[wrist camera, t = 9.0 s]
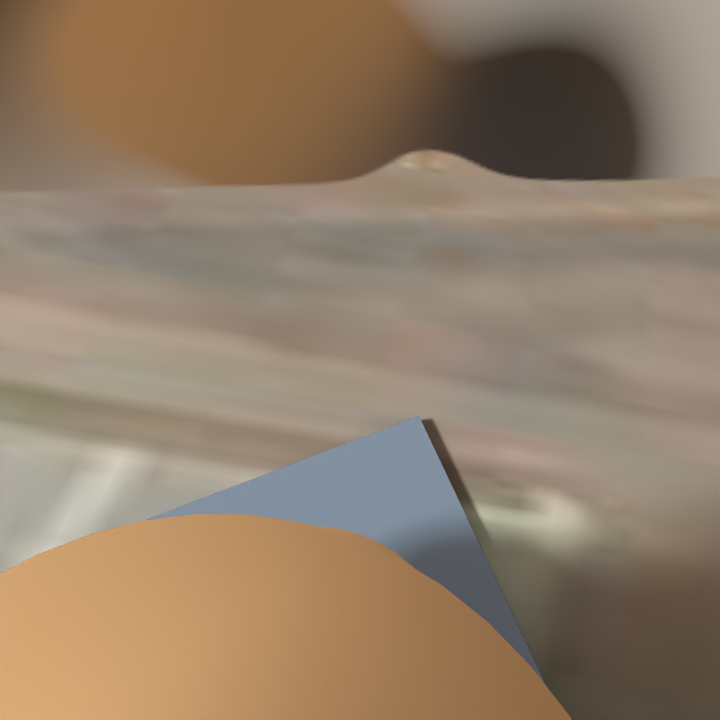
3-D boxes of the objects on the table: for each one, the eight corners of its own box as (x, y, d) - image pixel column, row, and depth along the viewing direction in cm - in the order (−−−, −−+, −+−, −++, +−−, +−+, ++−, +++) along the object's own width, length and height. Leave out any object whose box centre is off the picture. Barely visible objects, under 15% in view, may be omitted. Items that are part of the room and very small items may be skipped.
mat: (600, 810, 15) (608, 817, 14) (162, 1062, 12) (155, 1080, 12) (416, 420, 19) (418, 415, 19) (72, 552, 17) (65, 550, 16)
